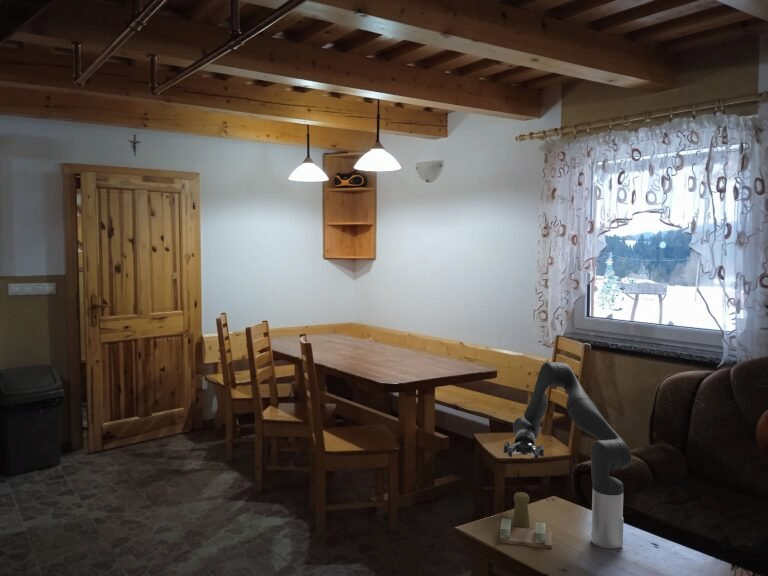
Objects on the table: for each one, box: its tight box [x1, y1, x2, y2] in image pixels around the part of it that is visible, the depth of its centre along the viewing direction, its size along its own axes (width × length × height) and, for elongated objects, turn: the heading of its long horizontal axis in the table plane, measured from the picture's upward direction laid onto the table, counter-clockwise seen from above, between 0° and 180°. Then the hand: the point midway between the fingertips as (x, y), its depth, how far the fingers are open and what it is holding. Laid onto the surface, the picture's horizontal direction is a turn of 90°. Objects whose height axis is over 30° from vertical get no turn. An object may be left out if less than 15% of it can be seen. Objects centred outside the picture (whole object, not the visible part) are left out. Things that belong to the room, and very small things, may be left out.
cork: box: [511, 491, 531, 529], centre depth 210 cm, size 6×6×11 cm
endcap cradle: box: [499, 517, 553, 549], centre depth 201 cm, size 16×10×4 cm, turn 75°
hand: (523, 455), depth 220 cm, fingers open, 8 cm apart
